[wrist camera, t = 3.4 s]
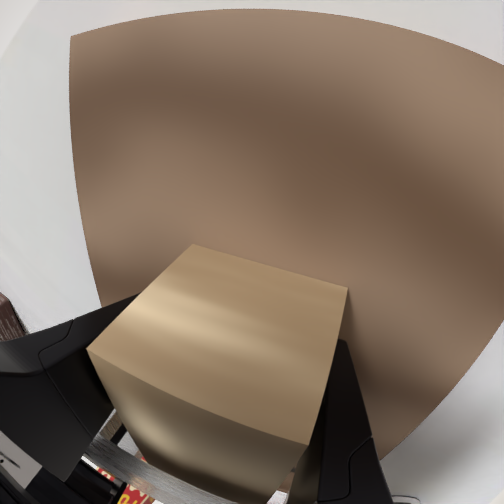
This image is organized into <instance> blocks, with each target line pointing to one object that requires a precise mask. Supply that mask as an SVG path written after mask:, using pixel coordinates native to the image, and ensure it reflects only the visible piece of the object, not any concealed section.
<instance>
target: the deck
mask: <svg viewBox="0 0 504 504" xmlns="http://www.w3.org/2000/svg"><path fill="white" fill-rule="evenodd" d="M69 103H70V126H71V140H72V152H73V162H74V171H75V179H76V187H77V194H78V201H79V207H80V213H81V219H82V225H83V230H84V235H85V240H86V245H87V250H88V254H89V259H90V263H91V268H92V272H93V276H94V280H95V284H96V288H97V292H98V295H99V299H100V303H101V306H102V307H105V306H107V305H110V304H113V303H115V302H118V301H120V300H123V299H125V298H128V297H130V296H133V295H135V294H138V293H140V292H143V291H144V290H145V289H146V288H147V287H148V286H149V285H150V284H151V283H152V282H153V281H154V280H155V279H156V278H157V277H158V276H159V275H160V274H161V273H162V272H163V271H164V270H165V269H166V268H167V267H169V266H170V265H171V264H172V263H173V262H174V261H175V260H176V259H177V258H178V257H179V256H180V255H181V254H182V253H183V252H184V251H185V250H186V249H188V248H189V247H190V246H191V245H192V244H195V245H199V246H202V247H206V248H209V249H213V250H216V251H220V252H223V253H227V254H230V255H234V256H237V257H241V258H244V259H248V260H251V261H255V262H258V263H262V264H265V265H269V266H272V267H276V268H279V269H283V270H287V271H290V272H294V273H297V274H301V275H304V276H308V277H311V278H315V279H319V280H322V281H326V282H329V283H333V284H336V285H340V286H344V287H347V288H348V290H347V295H346V301H345V306H344V311H343V315H342V320H341V325H340V330H339V334H338V338H339V339H343V340H346V341H347V343H348V347H349V350H350V353H351V357H352V360H353V364H354V367H355V371H356V374H357V378H358V381H359V385H360V388H361V392H362V396H363V399H364V403H365V407H366V411H367V415H368V419H369V422H370V426H371V430H372V434H373V436H372V437H373V438H374V442H375V446H376V450H377V454H378V458H379V461H380V460H381V459H382V458H384V457H385V456H386V455H387V454H388V453H389V452H391V451H392V450H393V449H394V448H395V447H396V446H397V445H398V444H400V443H401V442H402V441H403V440H404V439H405V438H406V437H407V436H408V435H409V434H410V433H411V432H412V431H413V430H414V429H415V428H416V427H417V426H418V425H419V424H420V423H421V422H422V421H423V420H424V419H425V418H426V417H427V416H428V415H429V414H430V413H431V412H432V411H433V410H434V409H435V408H436V407H437V406H438V405H439V404H440V403H441V401H442V400H443V399H444V398H445V397H446V396H447V395H448V394H449V392H450V391H451V390H452V389H453V388H454V387H455V385H456V384H457V383H458V382H459V381H460V379H461V378H462V377H463V376H464V375H465V373H466V372H467V371H468V369H469V368H470V367H471V366H472V364H473V363H474V362H475V360H476V359H477V358H478V356H479V355H480V354H481V352H482V351H483V350H484V348H485V347H486V345H487V344H488V343H489V341H490V340H491V338H492V337H493V335H494V334H495V332H496V331H497V329H498V328H499V326H500V325H501V323H502V322H503V320H504V65H502V64H500V63H497V62H495V61H493V60H491V59H489V58H487V57H484V56H482V55H480V54H477V53H475V52H473V51H470V50H468V49H465V48H462V47H460V46H457V45H455V44H452V43H449V42H446V41H443V40H440V39H437V38H434V37H431V36H428V35H425V34H422V33H418V32H415V31H411V30H408V29H404V28H400V27H396V26H392V25H388V24H383V23H379V22H374V21H369V20H364V19H359V18H353V17H347V16H341V15H334V14H326V13H318V12H308V11H296V10H279V9H223V10H206V11H194V12H184V13H176V14H168V15H161V16H155V17H149V18H143V19H138V20H133V21H128V22H123V23H119V24H114V25H110V26H106V27H102V28H98V29H94V30H91V31H87V32H84V33H80V34H77V35H74V36H71V40H70V62H69ZM296 465H297V463H296V464H295V466H294V467H293V468H292V470H291V471H290V473H289V474H288V475H287V477H286V478H285V480H284V481H283V482H282V484H281V485H280V486H279V488H278V489H277V490H278V491H281V492H285V493H288V491H289V488H290V486H291V483H292V480H293V477H294V473H295V469H296Z"/></svg>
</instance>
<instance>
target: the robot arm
mask: <svg viewBox="0 0 504 504" xmlns="http://www.w3.org/2000/svg"><path fill="white" fill-rule="evenodd" d="M141 293H142V292H140V293H138V294H135V295H133V296H130V297H128V298H125V299H123V300H120V301H118V302H115V303H113V304H110V305H107V306H105V307H102V308H100V309H97V310H95V311H92V312H90V313H87V314H85V315H82V316H80V317H77V318H75V319H74V320H73V319H72V320H69V321H67V322H64V323H62V324H59V325H56V326H54V327H51V328H48V329H45V330H41V331H38V332H35V333H32V334H28V335H25V336H21V337H18V338H15V339H11V340H7V341H0V504H117V503H118V502H119V500H120V498H121V496H122V494H123V493H124V491H125V489H126V487H127V485H128V484H127V483H126V482H124V481H122V480H121V479H119V478H117V477H116V476H114V475H113V474H111V473H110V472H108V471H106V470H105V469H103V468H102V467H101V466H99V465H98V464H97V463H96V462H95V461H94V460H93V459H92V458H91V457H90V456H89V455H88V454H87V452H86V450H87V448H88V447H89V445H90V444H91V443H92V441H93V438H95V436H96V435H97V433H98V432H99V431H100V429H101V428H102V426H103V425H104V423H105V422H106V420H107V419H108V417H109V416H110V415H111V413H112V412H113V410H114V409H115V408H114V406H113V404H112V402H111V400H110V398H109V396H108V394H107V392H106V390H105V388H104V386H103V384H102V382H101V380H100V378H99V376H98V374H97V372H96V369H95V367H94V365H93V363H92V361H91V358H90V356H89V354H88V351H87V349H86V348H87V347H88V346H89V345H90V344H91V343H92V342H93V341H94V340H95V339H96V338H97V337H98V336H99V335H100V334H101V333H102V332H103V331H104V330H105V329H106V328H107V327H108V326H109V325H110V324H111V323H112V322H113V321H114V320H115V319H116V318H117V317H118V316H119V315H120V314H121V313H122V312H123V311H124V310H125V309H126V308H127V307H128V306H129V305H130V304H131V303H132V302H133V301H134V300H135V299H136V298H137V297H138V296H139V295H140V294H141ZM126 432H127V429H126V427H125V426H124V424H123V423H122V425H121V426H120V427H119V429H118V430H117V431H116V433H115V434H114V435H113V437H112V438H111V439H110V441H111V442H112V443H114V444H115V445H118V443H119V442H120V441H121V439H122V438H123V436H124V435H125V434H126ZM372 436H373V434H372V430H371V426H370V422H369V419H368V415H367V411H366V407H365V403H364V399H363V396H362V392H361V388H360V385H359V381H358V378H357V374H356V371H355V367H354V364H353V360H352V357H351V353H350V350H349V347H348V343H347V341H346V340H343V339H339V338H338V339H337V343H336V347H335V352H334V356H333V360H332V364H331V368H330V372H329V376H328V380H327V384H326V387H325V391H324V395H323V398H322V402H321V405H320V409H319V412H318V416H317V419H316V423H315V426H314V429H313V432H312V436H311V439H310V442H309V445H308V447H307V448H306V450H305V451H304V453H303V454H302V456H301V457H300V458H299V460H298V461H297V465H296V469H295V473H294V477H293V481H292V485H291V489H290V492H289V496H288V500H287V503H286V504H394V502H393V499H392V496H391V494H390V491H389V488H388V485H387V483H386V480H385V477H384V474H383V471H382V468H381V465H380V462H379V458H378V454H377V450H376V446H375V442H374V438H373V437H372ZM82 456H84V457H86V458H87V459H88V460H90V461H91V462H92V463H94V464H95V465H96V466H98V467H99V468H100V469H102V470H103V471H105V472H106V473H107V474H109V475H110V476H112V477H113V478H115V479H114V480H113V481H111V480H110V479H108V478H107V477H105V476H104V475H102V474H101V473H100V472H98V471H97V470H95V469H94V468H93V467H91V466H90V465H89V464H87V463H86V462H85V461H84V460H82V459H81V457H82Z"/></svg>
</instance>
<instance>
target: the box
mask: <svg viewBox="0 0 504 504" xmlns="http://www.w3.org/2000/svg"><path fill="white" fill-rule="evenodd" d="M21 336H25V333H24V332H23V330H22V328H21V326H20V324H19V322H18V320H17V318H16V316H15V314H14V312H13V309H12V307H11V305H10V302H9V300H8V298H6V297H5V296H4V295H3V294H2V293H0V341H7V340H11V339H15V338H18V337H21Z"/></svg>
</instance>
